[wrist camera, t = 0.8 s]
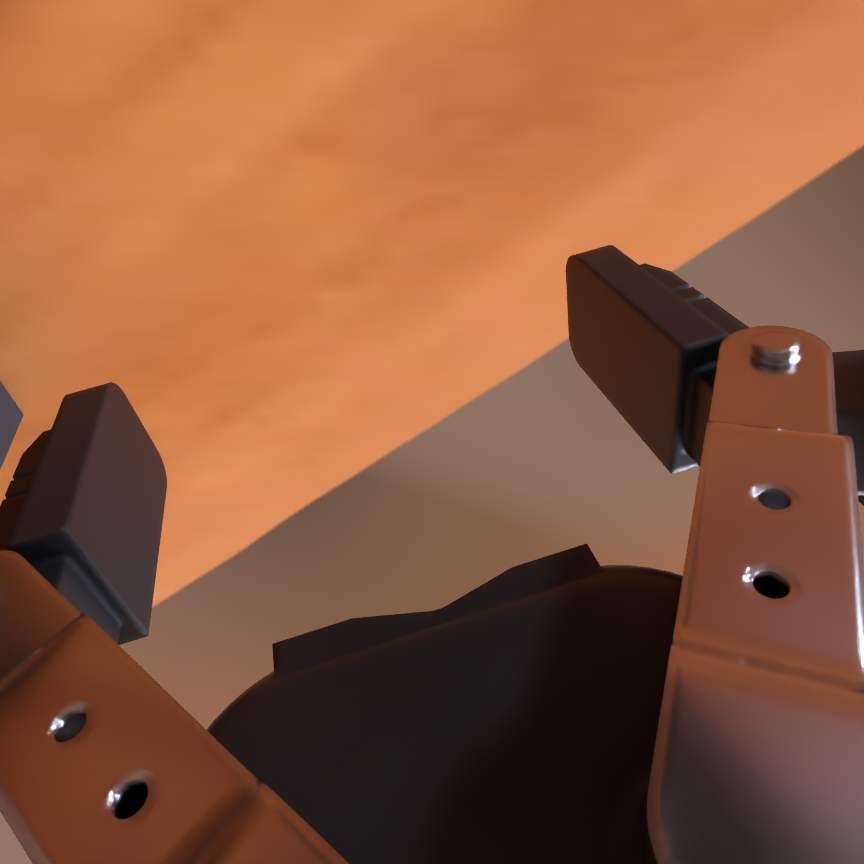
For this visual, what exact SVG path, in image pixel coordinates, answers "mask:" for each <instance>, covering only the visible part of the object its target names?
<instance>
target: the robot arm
mask: <svg viewBox="0 0 864 864" xmlns="http://www.w3.org/2000/svg"><path fill="white" fill-rule="evenodd" d="M566 283H567V304H568V326H569V339H570V343H571V348H572V351H573V354H574V356H575V358H576V360H577V362H578V364H579V365H580V367H581V368H582V369H583V370H584V371H585V373H586V374H587V375H588V376H589V377H590V379H591V380H592V381H593V382H594V383H595V384H596V386H597V387H598V388H599V389H600V390H601V391H602V393H603V394H604V395H605V396H606V397H607V399H608V400H609V401H610V402H611V403H612V404H613V406H614V407H615V408H616V409H617V410H618V411H619V413H620V414H621V415H622V416H623V417H624V419H625V420H626V421H627V422H628V423H629V425H630V426H631V427H632V428H633V429H634V430H635V431H636V433H637V434H638V435H639V436H640V437H641V439H642V440H643V441H644V442H645V443H646V444H647V446H648V447H649V448H650V449H651V450H652V452H653V453H654V454H655V455H656V456H657V458H658V459H659V460H660V461H661V462H662V463H663V465H664V466H665V467H666V468H667V469H668V470H669V472H670V473H671V474H673V473H676V472H679V471H682V470H686V469H689V468H692V467H695V466H699V467H700V470H699V477H698V483H697V489H696V496H695V503H694V509H693V515H692V522H691V527H690V534H689V540H688V547H687V553H686V559H685V566H684V572H683V576H681V575H678V574H675V573H671V572H667V571H663V570H658V569H653V568H648V567H639V566H630V565H606V566H600V565H599V564H598V562H597V560H596V558H595V557H594V555H593V553H592V552H591V550H590V548H589V547H588V545H587V544H584V545H581V546H578V547H575V548H572V549H568V550H565V551H562V552H559V553H556V554H553V555H549V556H546V557H543V558H540V559H537V560H534V561H531V562H528V563H524V564H521V565H518V566H515V567H512V568H510V569H509V570H507V571H505V572H503V573H502V574H500V575H499V576H497V577H495V578H493V579H492V580H490V581H488V582H487V583H485V584H483V585H481V586H480V587H478V588H476V589H474V590H473V591H471V592H469V593H468V594H466V595H464V596H463V597H461V598H459V599H457V600H456V601H454V602H452V603H451V604H449V605H447V606H445V607H443V608H441V609H438V610H435V611H429V612H417V613H406V614H395V615H384V616H374V617H363V618H352V619H349V620H346V621H343V622H340V623H337V624H333V625H330V626H327V627H324V628H321V629H318V630H315V631H312V632H309V633H305V634H302V635H299V636H296V637H293V638H290V639H287V640H283V641H280V642H277V643H274V644H273V660H274V661H273V662H274V672H272V673H270V674H269V675H267V676H265V677H264V678H262V679H261V680H259V681H258V682H257V683H255V684H254V685H252V686H251V687H250V688H248V689H247V690H246V691H245V692H243V693H242V694H241V695H240V696H239V697H238V698H237V699H235V700H234V701H233V702H232V703H231V704H230V705H229V706H228V707H227V708H226V709H225V710H224V711H223V712H222V713H221V714H220V715H219V716H218V717H217V718H216V719H215V720H214V721H213V723H212V724H211V725H210V726H209V728H208V729H207V730H206V729H205V728H204V727H203V726H202V725H201V724H200V723H198V721H197V720H196V719H194V718H193V717H192V716H191V715H190V714H189V713H188V712H187V711H186V710H185V709H184V708H183V707H182V706H181V705H180V704H179V703H178V702H177V701H176V700H175V699H174V698H173V697H172V696H171V695H170V694H169V693H168V692H167V691H166V690H165V689H163V688H162V687H161V686H160V685H159V684H158V683H157V682H156V681H155V680H154V679H153V678H152V677H151V676H150V675H149V674H148V673H147V672H146V671H145V670H144V669H143V668H142V667H141V666H140V665H138V663H137V662H136V661H134V660H133V659H132V658H131V657H130V656H129V655H128V654H127V653H126V652H125V651H124V650H123V649H122V648H121V647H120V646H119V645H120V644H124V643H127V642H130V641H133V640H137V639H140V638H143V637H146V636H148V632H149V625H150V617H151V609H152V601H153V593H154V585H155V577H156V569H157V561H158V553H159V545H160V537H161V529H162V521H163V513H164V505H165V497H166V489H167V478H166V472H165V468H164V464H163V461H162V459H161V456H160V454H159V452H158V450H157V449H156V447H155V445H154V443H153V442H152V440H151V438H150V437H149V435H148V433H147V431H146V430H145V428H144V426H143V425H142V423H141V421H140V419H139V418H138V416H137V414H136V413H135V411H134V409H133V407H132V406H131V404H130V402H129V401H128V399H127V397H126V395H125V394H124V392H123V391H122V390H121V388H120V387H119V386H118V385H116V384H115V383H112V382H111V383H107V384H104V385H100V386H96V387H93V388H89V389H86V390H82V391H78V392H75V393H71V394H68V395H66V396H65V397H64V398H63V401H62V403H61V406H60V408H59V411H58V414H57V416H56V419H55V421H54V424H53V427H52V429H51V430H48V431H44V432H43V433H42V434H41V435H40V436H39V437H38V438H37V439H36V440H35V441H34V442H33V444H32V445H31V446H30V447H29V448H28V449H27V450H26V451H25V452H24V453H23V454H22V456H21V459H20V461H19V463H18V466H17V468H16V471H15V473H14V475H13V478H14V481H11V482H10V485H9V487H8V489H7V492H6V494H5V496H6V499H5V500H3V501H2V503H1V506H0V811H1V813H2V815H3V816H4V818H5V820H6V821H7V823H8V824H9V826H10V828H11V829H12V831H13V833H14V834H15V836H16V837H17V839H18V841H19V842H20V844H21V845H22V847H23V848H24V850H25V852H26V853H27V855H28V857H29V858H30V860H31V861H32V863H33V864H864V558H863V546H862V535H861V523H860V512H859V502H860V503H861V504H862V505H864V350H857V351H846V352H832V351H831V349H830V347H829V346H828V345H827V344H826V343H825V342H824V341H823V340H822V339H820V338H819V337H817V336H815V335H813V334H811V333H808V332H806V331H803V330H799V329H795V328H790V327H784V326H757V327H751V328H749V327H748V326H746V325H745V324H743V323H742V322H741V321H739V320H738V319H737V318H735V317H734V316H732V315H731V314H729V313H728V312H727V311H725V310H724V309H723V308H721V307H720V306H718V305H717V304H716V303H714V302H713V301H711V300H710V299H709V298H704V295H703V294H702V293H700V292H699V291H697V290H696V289H695V288H693V287H691V288H690V287H689V284H688V283H686V282H685V281H683V280H682V279H681V278H679V277H678V276H677V275H675V274H674V273H672V272H671V271H667V270H664V269H661V268H658V267H654V266H651V265H648V264H641V265H638V264H637V263H635V262H634V261H633V260H632V259H630V258H629V257H628V256H626V255H625V254H624V253H622V252H621V251H620V250H618V249H617V248H616V247H614V246H612V245H608V246H605V247H601V248H597V249H594V250H590V251H587V252H583V253H579V254H576V255H572V256H570V257H569V258H568V261H567V264H566Z"/></svg>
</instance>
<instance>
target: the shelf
mask: <svg viewBox="0 0 864 864" xmlns="http://www.w3.org/2000/svg"><path fill="white" fill-rule="evenodd" d="M22 417H23V414H22V412H21V411H20V409H19V408H18V406H17V405H16V403H15V402H14V401H13V399H12V398H11V396H10V395H9V393H8V392H7V390H6V389H5V387H4V386H3V385H2V383H1V382H0V469H1V467H2V464H3V462H4V459H5V457H6V455H7V452H8V450H9V448H10V445H11V443H12V441H13V438H14V436H15V434H16V431H17V429H18V427H19V424H20V422H21V420H22Z"/></svg>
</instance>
